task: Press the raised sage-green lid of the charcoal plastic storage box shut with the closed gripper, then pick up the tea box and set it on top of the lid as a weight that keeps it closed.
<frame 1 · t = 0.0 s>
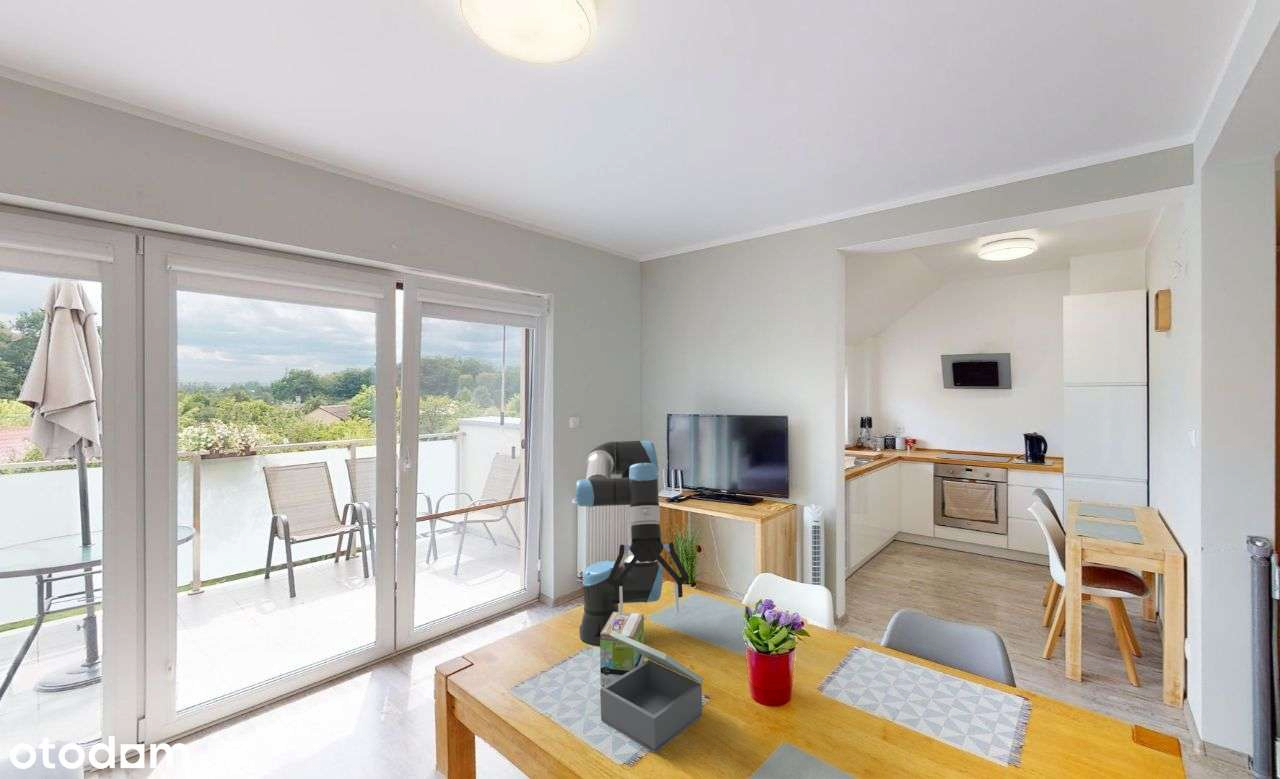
hand: (649, 613, 128), 28 cm above the table, tool tilted 20°, fingers open, 13 cm apart
tea box: (623, 673, 153), on the table
storage box: (651, 718, 132), on the table
lid: (656, 656, 133), point 15 cm above the table, hinge at 40.0°
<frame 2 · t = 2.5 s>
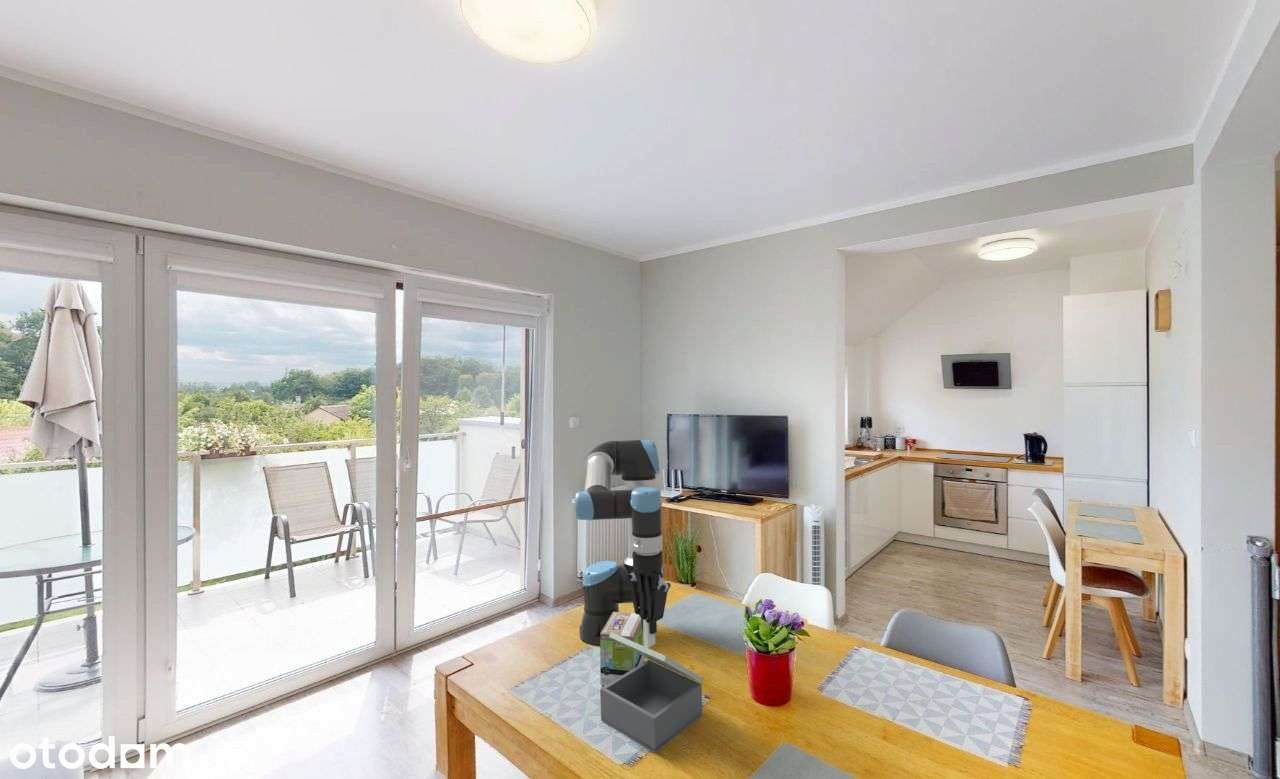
hand: (649, 644, 131), 19 cm above the table, tool pointing down, fingers closed
lid: (656, 657, 133), point 14 cm above the table, hinge at 38.7°, touching gripper
everything else where it was.
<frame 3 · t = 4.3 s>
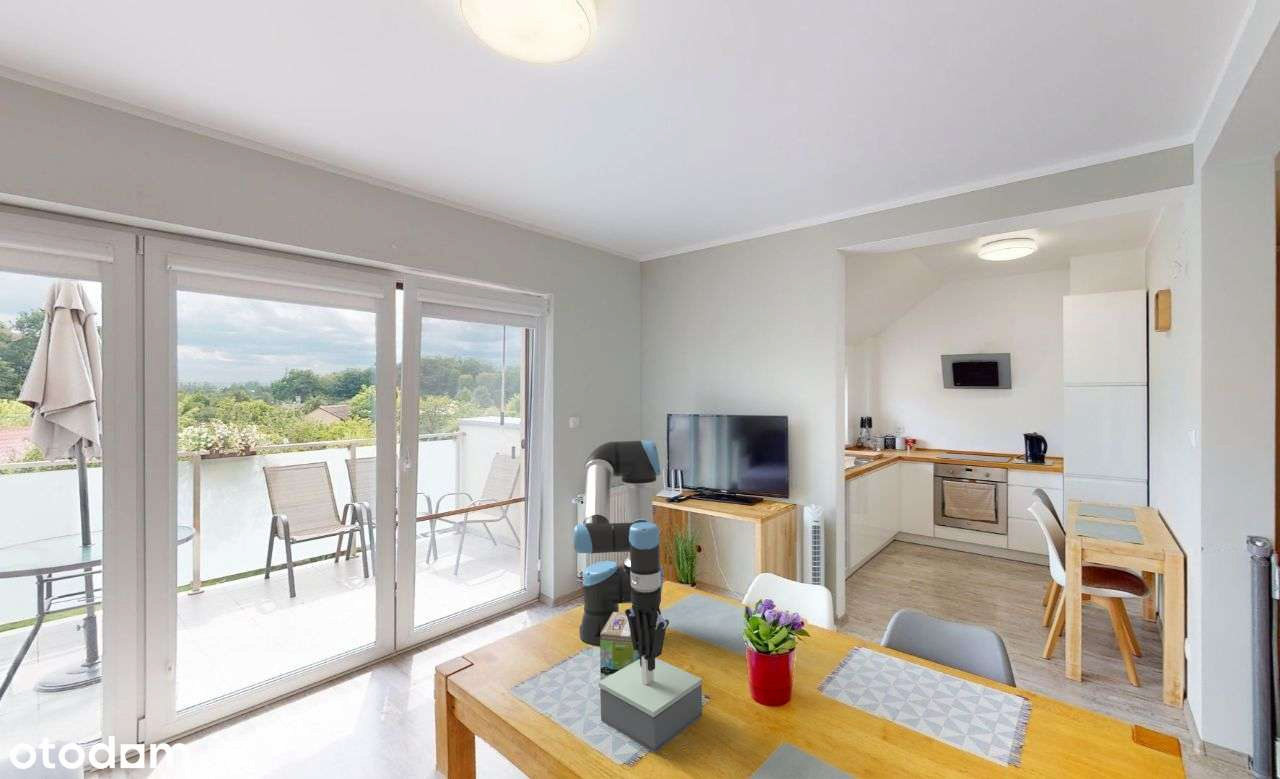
hand: (648, 681, 131), 10 cm above the table, tool pointing down, fingers closed
lid: (650, 682, 132), point 9 cm above the table, hinge at 1.2°, touching gripper
everything else where it was.
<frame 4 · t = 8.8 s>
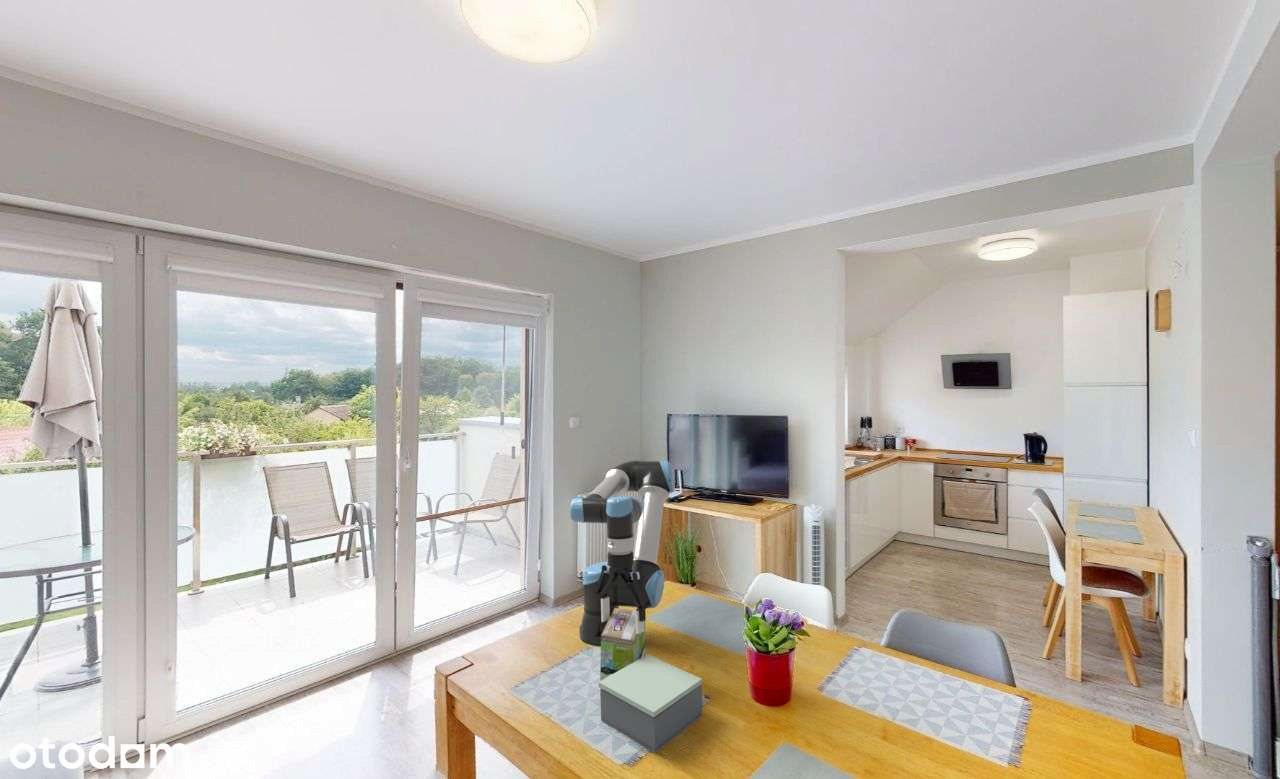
hand: (622, 626, 151), 14 cm above the table, tool pointing down, fingers open, 13 cm apart
tea box: (623, 670, 153), point 1 cm above the table, touching gripper
lid: (650, 682, 132), point 9 cm above the table, hinge at 1.2°
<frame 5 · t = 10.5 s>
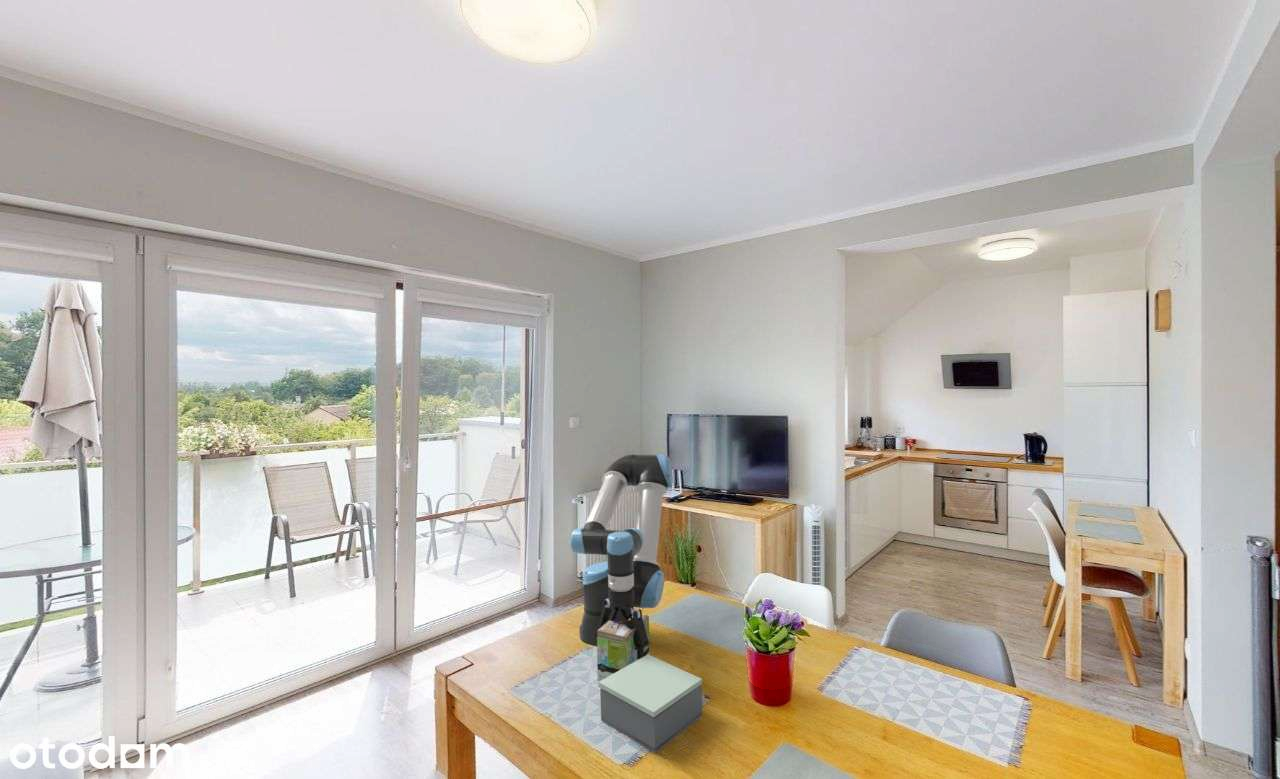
hand: (623, 661, 153), 3 cm above the table, tool pointing down, fingers closed on tea box, 11 cm apart
tea box: (624, 672, 153), on the table, touching gripper
everything else where it was.
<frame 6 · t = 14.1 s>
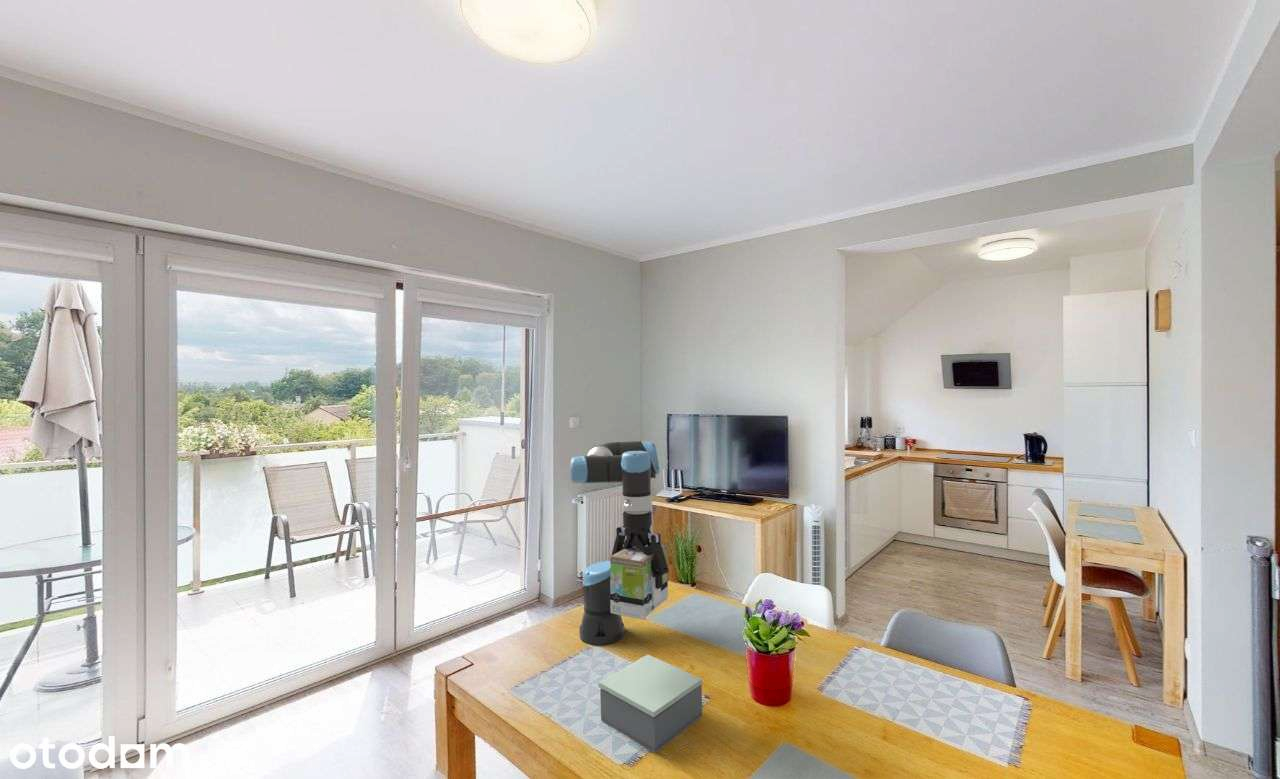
hand: (639, 594, 137), 29 cm above the table, tool pointing down, fingers closed on tea box, 11 cm apart
tea box: (640, 607, 137), point 26 cm above the table, touching gripper
everything else where it was.
when the fingers open (14 cm above the table, at t = 17.9 s): tea box drops 2 cm, resting on lid.
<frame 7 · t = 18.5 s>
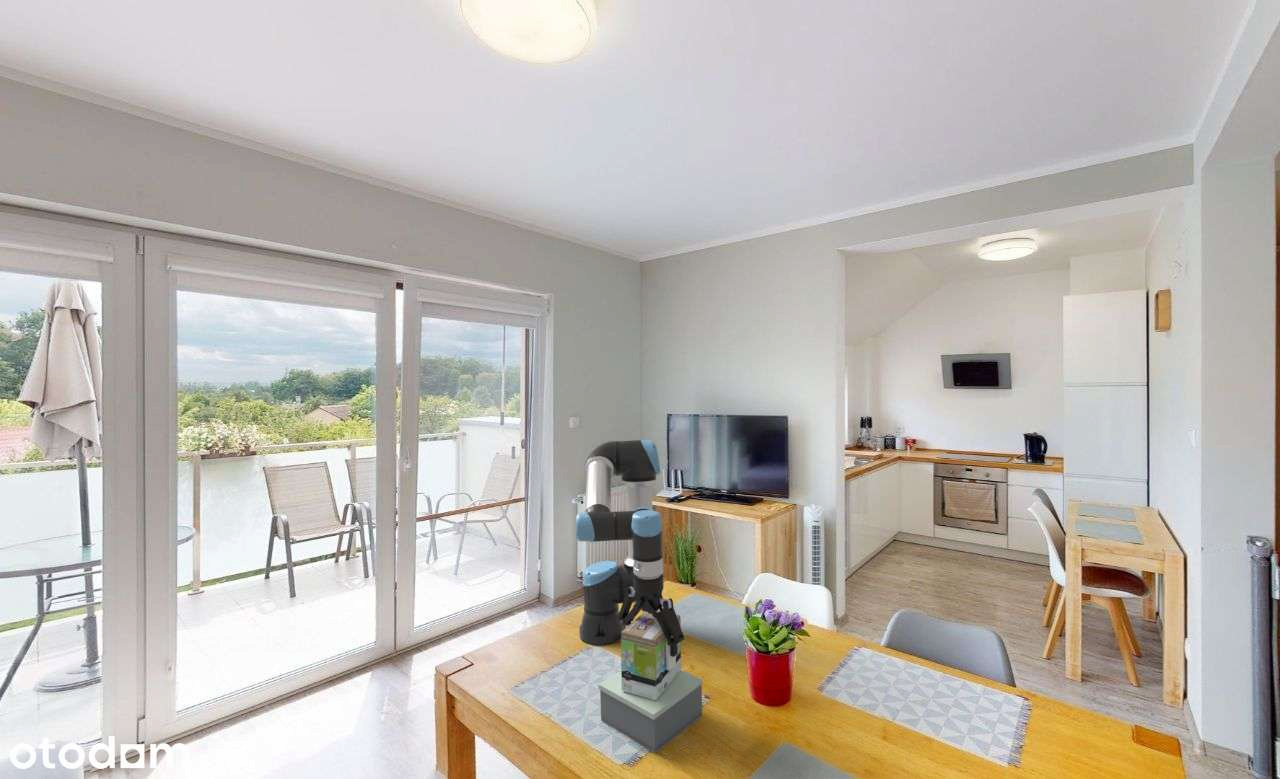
hand: (650, 658, 132), 15 cm above the table, tool pointing down, fingers open, 13 cm apart
tea box: (652, 681, 132), point 9 cm above the table, touching lid
lid: (650, 683, 132), point 9 cm above the table, hinge at -0.5°, touching tea box
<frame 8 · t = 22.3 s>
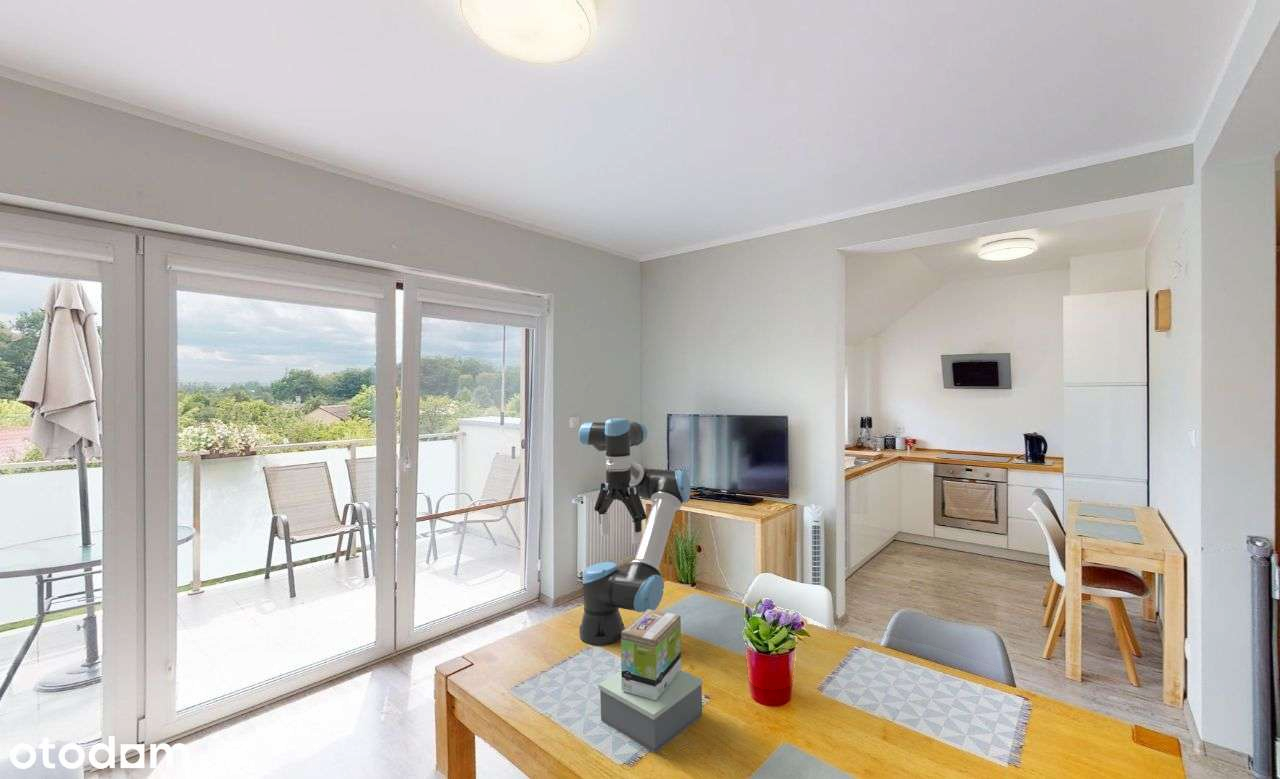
hand: (620, 538, 161), 37 cm above the table, tool pointing down, fingers open, 13 cm apart
nothing on the table moved.
at the end: lid at +0° (first picture: +40°); tea box inside the target area on the storage box (0.5 cm from its centre), point 9.1 cm above the storage box's base; tea box tilted 0° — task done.
